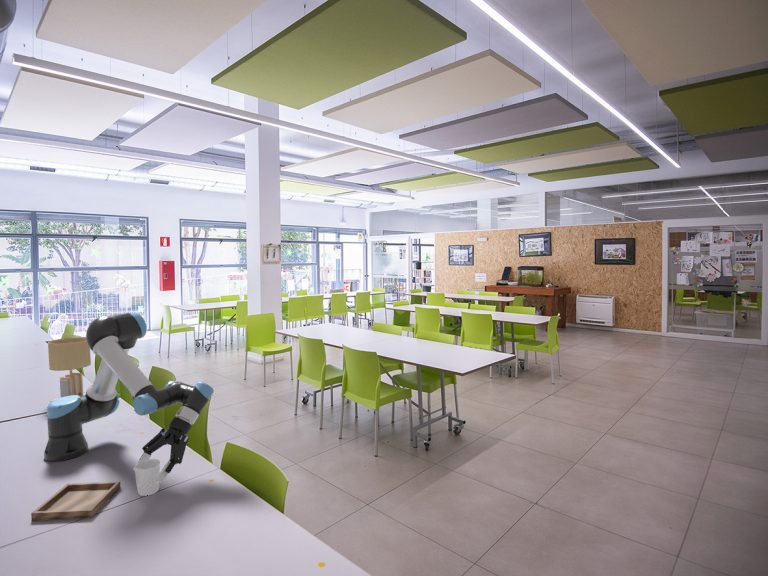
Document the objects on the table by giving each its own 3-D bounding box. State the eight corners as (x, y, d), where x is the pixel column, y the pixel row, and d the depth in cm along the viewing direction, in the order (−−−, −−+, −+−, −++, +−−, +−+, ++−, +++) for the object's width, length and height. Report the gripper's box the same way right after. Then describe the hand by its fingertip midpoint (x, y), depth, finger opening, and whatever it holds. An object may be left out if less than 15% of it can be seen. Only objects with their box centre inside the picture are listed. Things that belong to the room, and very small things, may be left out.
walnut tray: (31, 520, 138) (31, 513, 137) (67, 490, 155) (67, 483, 155) (91, 517, 139) (91, 510, 139) (120, 488, 157) (120, 481, 157)
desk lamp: (77, 406, 242) (73, 344, 240) (42, 406, 243) (38, 343, 240) (100, 395, 262) (97, 337, 259) (68, 395, 262) (65, 337, 259)
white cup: (135, 499, 150) (134, 471, 149) (136, 488, 157) (135, 461, 156) (161, 493, 153) (160, 466, 153) (160, 483, 160) (159, 457, 160)
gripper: (211, 431, 162) (176, 489, 150) (170, 419, 174) (134, 471, 163) (199, 422, 157) (161, 481, 145) (156, 410, 169) (119, 463, 158)
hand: (147, 476), depth 154 cm, fingers open, 13 cm apart
